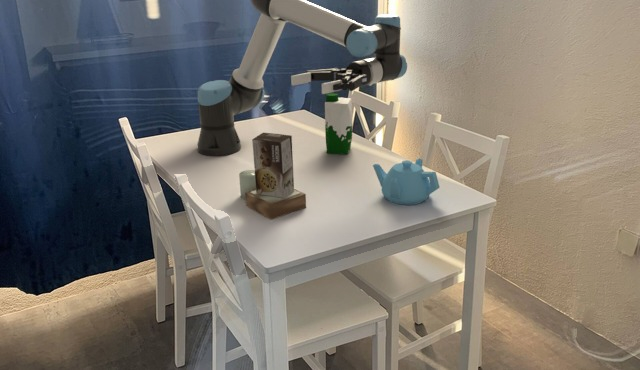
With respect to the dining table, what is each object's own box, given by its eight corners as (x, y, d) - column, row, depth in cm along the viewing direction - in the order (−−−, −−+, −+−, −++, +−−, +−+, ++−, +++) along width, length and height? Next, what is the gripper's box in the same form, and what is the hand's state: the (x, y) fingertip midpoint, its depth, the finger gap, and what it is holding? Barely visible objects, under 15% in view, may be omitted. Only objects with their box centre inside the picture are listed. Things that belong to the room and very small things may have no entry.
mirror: (246, 205, 178) (245, 191, 176) (280, 194, 185) (280, 181, 183) (270, 219, 169) (269, 204, 168) (306, 207, 176) (305, 193, 175)
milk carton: (328, 146, 225) (327, 90, 217) (353, 147, 223) (353, 91, 216) (323, 154, 217) (322, 97, 209) (349, 155, 215) (349, 98, 208)
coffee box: (295, 190, 177) (292, 135, 170) (284, 199, 171) (281, 142, 165) (266, 185, 180) (263, 131, 174) (255, 194, 175) (251, 138, 169)
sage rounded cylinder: (236, 195, 185) (235, 173, 182) (254, 190, 188) (252, 168, 186) (248, 202, 181) (246, 179, 178) (265, 196, 184) (264, 174, 181)
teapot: (388, 210, 173) (389, 174, 169) (371, 190, 187) (372, 155, 183) (440, 204, 177) (442, 168, 173) (420, 184, 190) (421, 150, 186)
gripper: (393, 92, 179) (336, 106, 167) (336, 78, 197) (280, 90, 185) (394, 66, 176) (336, 78, 164) (335, 54, 194) (279, 64, 182)
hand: (306, 84), depth 174 cm, fingers open, 13 cm apart
